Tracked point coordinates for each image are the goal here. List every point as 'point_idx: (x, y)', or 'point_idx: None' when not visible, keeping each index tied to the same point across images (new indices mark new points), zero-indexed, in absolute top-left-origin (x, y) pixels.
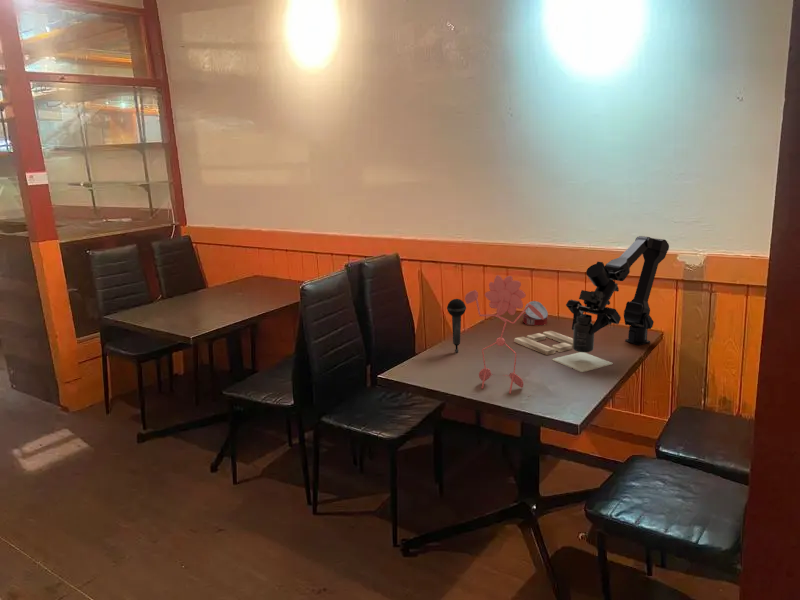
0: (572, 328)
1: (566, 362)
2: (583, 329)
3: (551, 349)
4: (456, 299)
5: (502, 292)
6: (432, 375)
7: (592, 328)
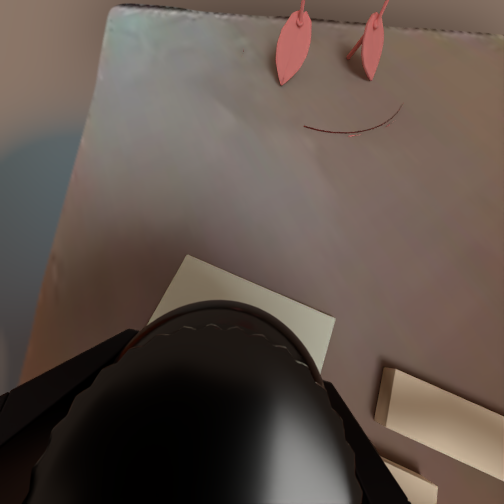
0: (324, 380)
1: (271, 309)
2: (185, 305)
3: (397, 409)
4: None
5: None
6: (474, 72)
7: (91, 360)
